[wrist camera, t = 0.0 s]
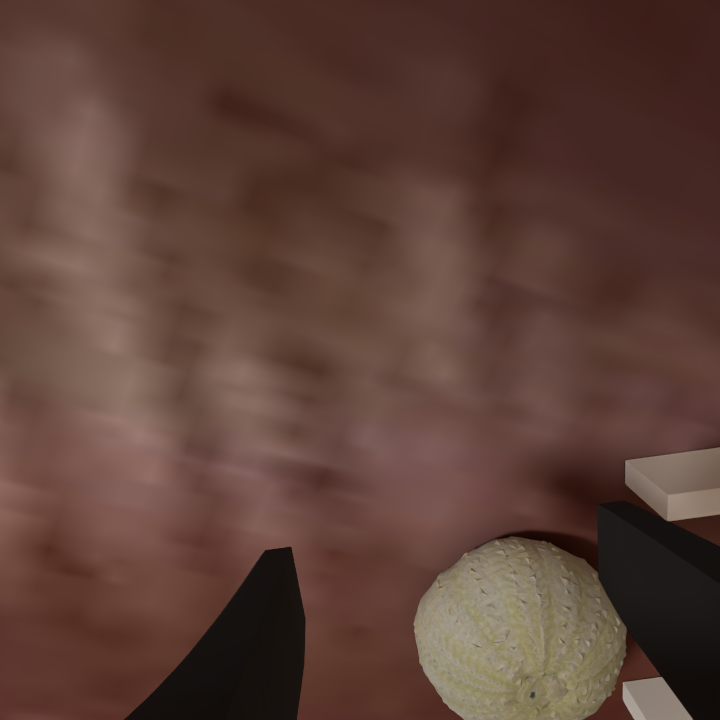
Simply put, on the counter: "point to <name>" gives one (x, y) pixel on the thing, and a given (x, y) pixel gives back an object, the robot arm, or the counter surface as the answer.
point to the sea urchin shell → (520, 634)
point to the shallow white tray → (672, 502)
